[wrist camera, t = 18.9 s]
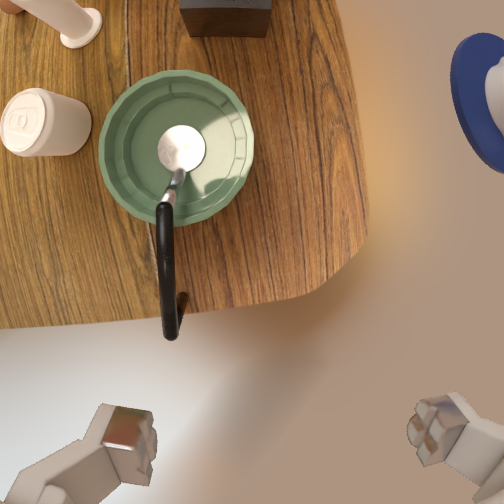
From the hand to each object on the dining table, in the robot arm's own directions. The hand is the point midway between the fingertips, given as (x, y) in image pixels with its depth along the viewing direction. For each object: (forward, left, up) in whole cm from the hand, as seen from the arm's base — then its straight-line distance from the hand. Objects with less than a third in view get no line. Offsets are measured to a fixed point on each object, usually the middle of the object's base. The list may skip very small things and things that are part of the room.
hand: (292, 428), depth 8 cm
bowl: (+9, -9, -35) cm, 37 cm away
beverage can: (+26, -13, -35) cm, 46 cm away
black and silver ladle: (+9, 0, -35) cm, 36 cm away
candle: (+26, -29, -35) cm, 53 cm away
